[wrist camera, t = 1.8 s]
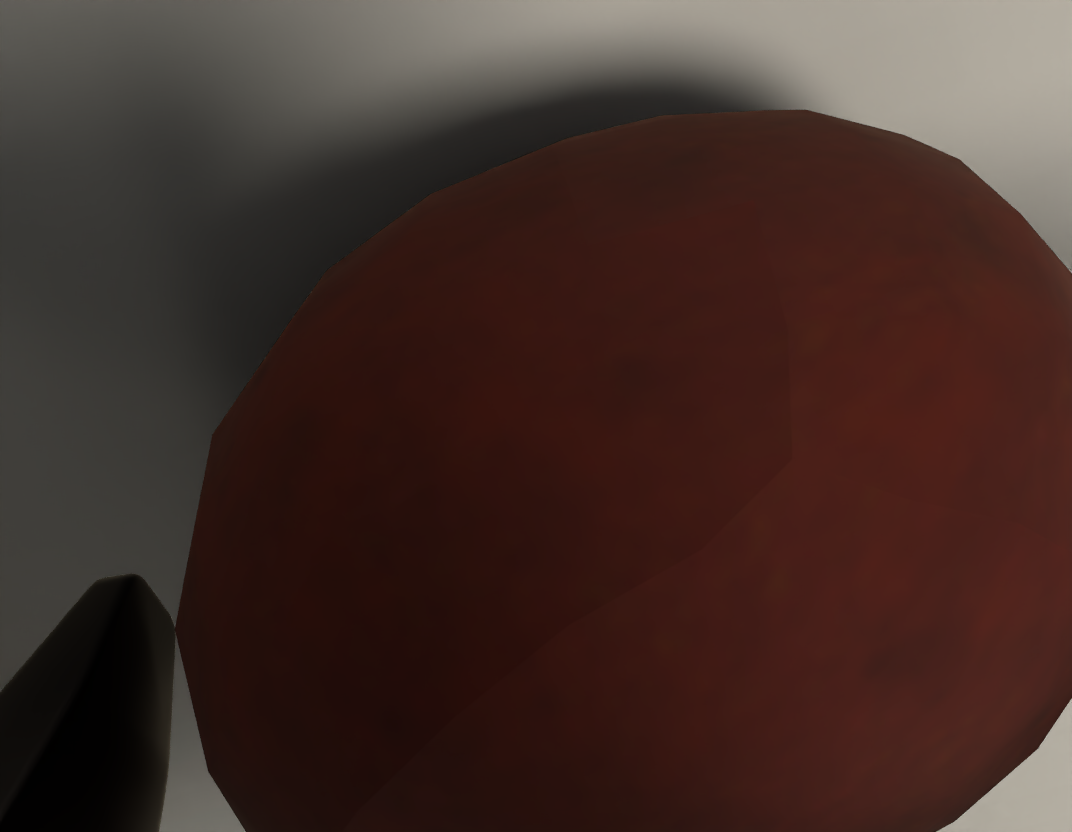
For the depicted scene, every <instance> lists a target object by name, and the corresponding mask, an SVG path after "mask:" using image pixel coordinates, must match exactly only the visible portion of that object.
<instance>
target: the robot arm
mask: <svg viewBox="0 0 1072 832" xmlns="http://www.w3.org/2000/svg"><path fill="white" fill-rule="evenodd" d="M175 640H176V635H175V627H174V623H173V620H172V618H171V616H170V614H169V612H168V611H167V610H166V608H165V607H164V606H163V604H162V603H161V601H160V600H159V599H158V597H157V596H156V595H155V593H154V592H153V590H152V589H151V588H150V586H149V585H148V584H147V582H146V581H145V580H144V579H143V577H141V576H139V575H137V574H133V573H130V574H124V575H117V576H110V577H105V578H101V579H99V580H97V581H96V582H94V583H93V584H92V585H91V586H90V587H89V588H88V589H87V591H86V592H85V593H84V594H83V595H82V597H81V598H80V599H79V600H78V601H77V602H76V604H75V605H74V606H73V607H72V608H71V610H70V611H69V612H68V613H67V614H66V615H65V617H64V618H63V619H62V620H61V621H60V622H59V624H58V625H57V626H56V627H55V628H54V630H53V631H52V632H51V633H50V634H49V635H48V637H47V638H46V639H45V640H44V641H43V643H42V644H41V645H40V646H39V647H38V648H37V650H36V651H35V652H34V653H33V654H32V656H31V657H30V658H29V659H28V660H27V661H26V663H25V664H24V665H23V666H22V667H21V669H20V670H19V671H18V672H17V673H16V674H15V676H14V677H13V678H12V679H11V680H10V681H9V683H8V684H7V685H6V686H5V687H4V689H3V690H2V691H1V692H0V832H159V829H160V823H161V817H162V811H163V805H164V799H165V792H166V785H167V778H168V768H169V756H170V739H171V719H172V700H173V680H174V660H175Z"/></svg>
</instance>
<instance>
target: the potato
mask: <svg viewBox="0 0 1072 832" xmlns="http://www.w3.org/2000/svg"><path fill="white" fill-rule="evenodd" d="M175 632H176V637H177V641H178V645H179V649H180V654H181V658H182V662H183V666H184V671H185V675H186V679H187V683H188V688H189V692H190V696H191V700H192V704H193V709H194V713H195V717H196V721H197V726H198V730H199V734H200V738H201V743H202V747H203V751H204V755H205V760H206V764H207V768H208V772H209V774H210V775H211V777H212V778H213V780H214V782H215V783H216V785H217V786H218V788H219V789H220V791H221V793H222V794H223V796H224V797H225V799H226V801H227V802H228V804H229V805H230V807H231V809H232V810H233V812H234V813H235V815H236V817H237V818H238V820H239V821H240V823H241V825H242V826H243V828H244V829H245V831H246V832H936V831H938V830H940V829H941V828H943V827H945V826H947V825H949V824H951V823H952V822H954V821H955V820H957V819H958V818H959V817H960V816H961V815H962V814H964V813H965V812H966V811H967V810H968V809H969V808H970V807H972V806H973V805H974V804H975V803H976V802H977V801H978V800H980V799H981V798H982V797H983V796H984V795H985V794H986V793H988V792H989V791H990V790H991V789H992V788H993V787H994V786H996V785H997V784H998V783H999V782H1000V781H1001V780H1002V779H1004V778H1005V777H1006V776H1007V775H1008V774H1009V773H1011V772H1012V771H1013V770H1014V769H1015V768H1016V767H1017V766H1019V765H1020V764H1021V763H1022V762H1023V761H1024V760H1025V759H1027V758H1028V757H1029V756H1030V755H1031V754H1032V753H1033V752H1035V751H1036V750H1037V749H1038V747H1039V746H1040V744H1041V743H1042V741H1043V740H1044V738H1045V737H1046V735H1047V734H1048V733H1049V731H1050V730H1051V728H1052V727H1053V725H1054V724H1055V722H1056V721H1057V719H1058V718H1059V716H1060V715H1061V713H1062V712H1063V710H1064V709H1065V707H1066V706H1067V704H1068V703H1069V701H1070V700H1071V698H1072V273H1071V272H1070V271H1069V270H1068V269H1067V267H1066V266H1065V265H1064V264H1063V263H1062V262H1061V260H1060V259H1059V258H1058V257H1057V256H1056V255H1055V253H1054V252H1053V251H1052V250H1051V249H1050V248H1049V246H1048V245H1047V244H1046V243H1045V242H1044V241H1043V239H1042V238H1041V237H1040V236H1039V235H1038V234H1037V232H1036V231H1035V230H1034V229H1033V228H1032V227H1031V225H1030V224H1029V223H1028V222H1027V221H1026V220H1025V218H1024V217H1023V216H1022V215H1021V214H1020V213H1019V212H1018V211H1017V210H1016V209H1015V208H1013V207H1012V206H1011V205H1010V204H1009V203H1008V202H1007V201H1006V200H1004V199H1003V198H1002V197H1001V196H1000V195H999V194H998V193H997V192H995V191H994V190H993V189H992V188H991V187H990V186H989V185H988V184H986V183H985V182H984V181H983V180H982V179H981V178H980V177H979V176H977V175H976V174H975V173H974V172H973V171H972V170H971V169H970V168H968V167H967V166H966V165H965V164H964V163H963V162H962V161H961V160H959V159H957V158H955V157H953V156H950V155H948V154H946V153H944V152H941V151H939V150H937V149H935V148H932V147H930V146H928V145H926V144H923V143H921V142H919V141H916V140H914V139H912V138H910V137H907V136H905V135H902V134H898V133H894V132H890V131H886V130H883V129H879V128H875V127H871V126H867V125H863V124H859V123H855V122H852V121H848V120H844V119H840V118H836V117H832V116H828V115H824V114H821V113H817V112H813V111H809V110H762V111H741V112H721V113H701V114H680V115H661V116H657V117H653V118H649V119H645V120H641V121H636V122H632V123H628V124H624V125H620V126H616V127H611V128H607V129H603V130H599V131H595V132H590V133H586V134H582V135H578V136H574V137H570V138H566V139H564V140H561V141H559V142H556V143H554V144H551V145H549V146H546V147H544V148H542V149H539V150H537V151H534V152H532V153H529V154H527V155H524V156H522V157H520V158H517V159H515V160H512V161H510V162H507V163H505V164H503V165H500V166H498V167H495V168H493V169H490V170H488V171H485V172H483V173H481V174H478V175H476V176H473V177H471V178H468V179H466V180H463V181H461V182H459V183H456V184H454V185H451V186H449V187H446V188H444V189H442V190H439V191H437V192H434V193H432V194H430V195H429V196H427V197H426V198H425V199H423V200H422V201H420V202H419V203H418V204H416V205H415V206H414V207H412V208H411V209H410V210H408V211H407V212H405V213H404V214H403V215H401V216H400V217H399V218H397V219H396V220H395V221H393V222H392V223H390V224H389V225H388V226H386V227H385V228H384V229H382V230H381V231H380V232H378V233H377V234H376V235H374V236H373V237H371V238H370V239H369V240H367V241H366V242H365V243H363V244H362V245H361V246H359V247H358V248H356V249H355V250H354V251H352V252H351V253H350V254H348V255H347V256H346V257H344V258H343V259H341V260H340V261H339V262H337V263H336V264H335V265H333V266H332V267H331V268H329V269H328V270H327V271H326V272H325V273H324V275H323V276H322V278H321V279H320V280H319V282H318V283H317V285H316V286H315V287H314V289H313V290H312V292H311V293H310V294H309V296H308V297H307V299H306V300H305V301H304V303H303V304H302V306H301V307H300V308H299V310H298V311H297V312H296V314H295V315H294V317H293V318H292V319H291V321H290V322H289V324H288V325H287V327H286V328H285V330H284V331H283V333H282V334H281V335H280V337H279V338H278V340H277V341H276V343H275V344H274V346H273V347H272V349H271V350H270V351H269V353H268V354H267V356H266V357H265V359H264V360H263V362H262V363H261V365H260V366H259V367H258V369H257V370H256V372H255V373H254V375H253V376H252V378H251V379H250V381H249V382H248V383H247V385H246V386H245V388H244V389H243V391H242V392H241V394H240V395H239V397H238V398H237V399H236V401H235V402H234V404H233V405H232V407H231V408H230V410H229V411H228V413H227V414H226V415H225V417H224V418H223V420H222V421H221V423H220V424H219V426H218V427H217V429H216V430H215V431H214V433H213V434H212V439H211V444H210V449H209V454H208V459H207V464H206V470H205V475H204V480H203V485H202V490H201V495H200V500H199V505H198V510H197V515H196V521H195V526H194V531H193V536H192V541H191V547H190V552H189V557H188V562H187V568H186V573H185V578H184V583H183V589H182V594H181V599H180V604H179V610H178V615H177V620H176V625H175Z"/></svg>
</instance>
